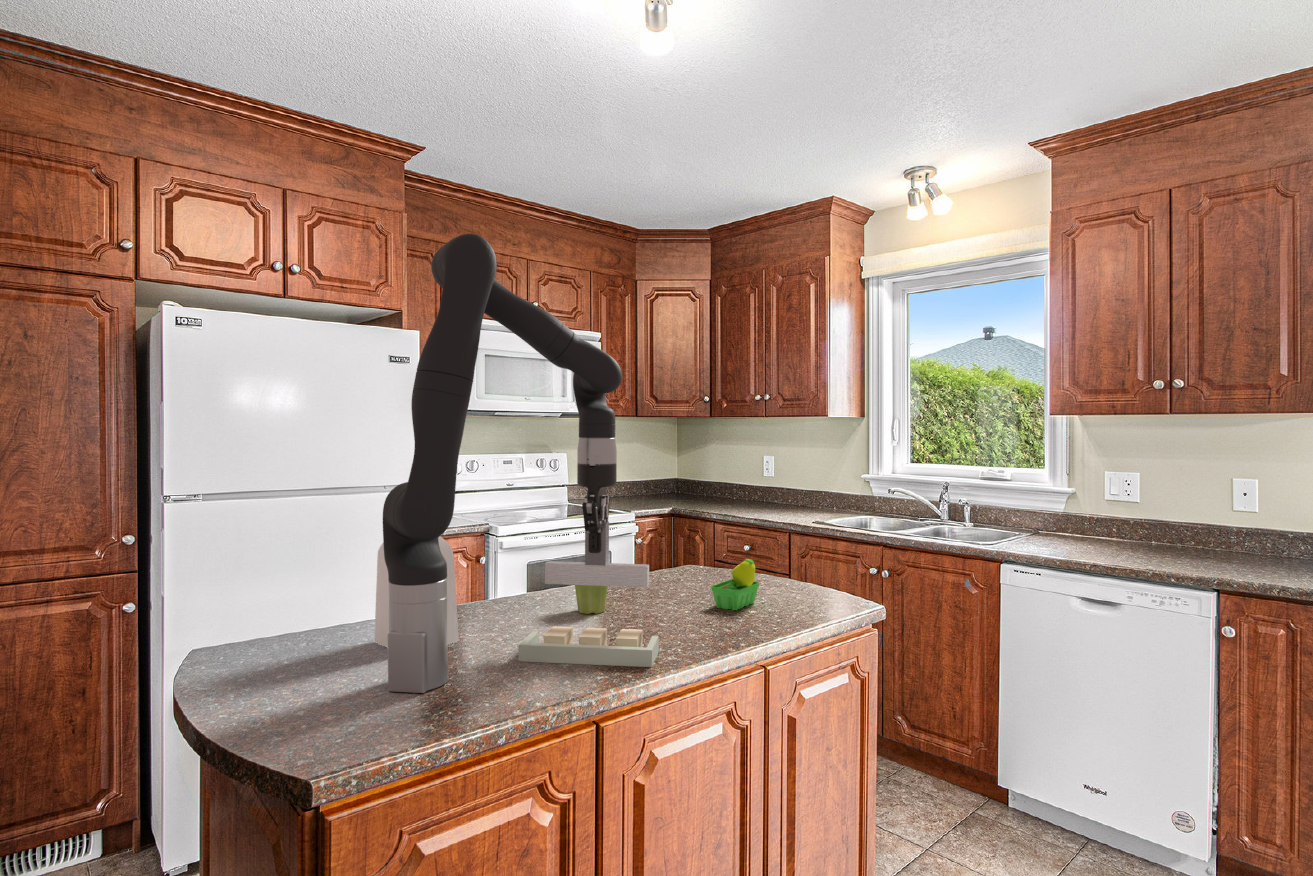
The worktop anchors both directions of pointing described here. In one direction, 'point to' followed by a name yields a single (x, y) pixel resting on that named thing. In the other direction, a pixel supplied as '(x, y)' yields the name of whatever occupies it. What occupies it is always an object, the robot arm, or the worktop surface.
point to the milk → (383, 596)
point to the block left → (559, 635)
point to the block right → (630, 638)
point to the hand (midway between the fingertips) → (596, 550)
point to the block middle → (593, 637)
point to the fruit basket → (737, 588)
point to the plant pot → (591, 598)
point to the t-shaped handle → (597, 568)
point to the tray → (587, 653)
